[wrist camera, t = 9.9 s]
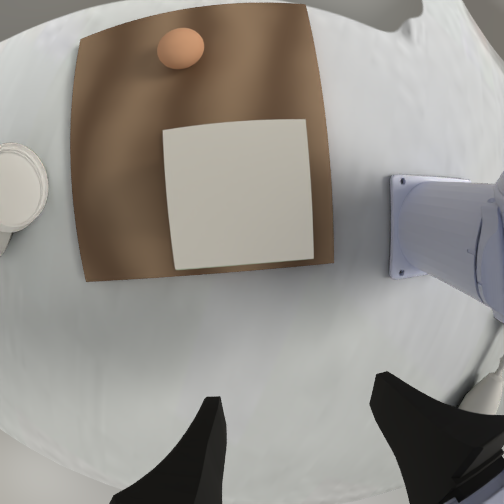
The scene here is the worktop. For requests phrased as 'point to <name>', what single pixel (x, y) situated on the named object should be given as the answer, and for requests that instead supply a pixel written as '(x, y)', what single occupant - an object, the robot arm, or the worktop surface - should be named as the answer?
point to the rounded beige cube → (239, 192)
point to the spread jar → (20, 189)
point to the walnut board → (184, 125)
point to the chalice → (485, 393)
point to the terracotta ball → (180, 48)
